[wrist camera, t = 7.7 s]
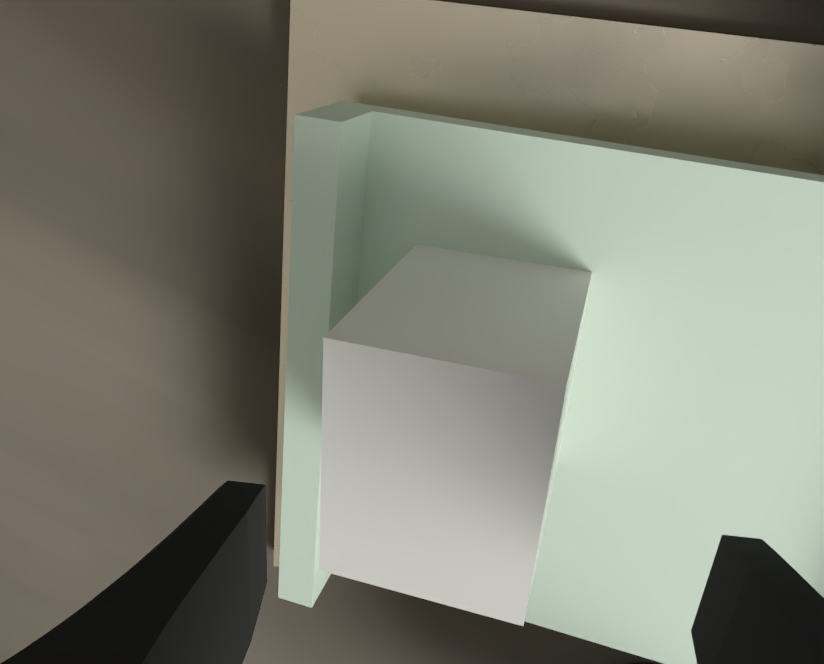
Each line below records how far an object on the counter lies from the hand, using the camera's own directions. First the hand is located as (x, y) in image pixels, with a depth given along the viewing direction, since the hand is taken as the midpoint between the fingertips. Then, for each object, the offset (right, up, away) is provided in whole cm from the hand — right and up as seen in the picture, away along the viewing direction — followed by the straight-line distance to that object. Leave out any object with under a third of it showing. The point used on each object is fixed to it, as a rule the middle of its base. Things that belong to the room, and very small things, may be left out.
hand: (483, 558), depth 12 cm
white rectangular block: (+1, +3, +6) cm, 7 cm away
